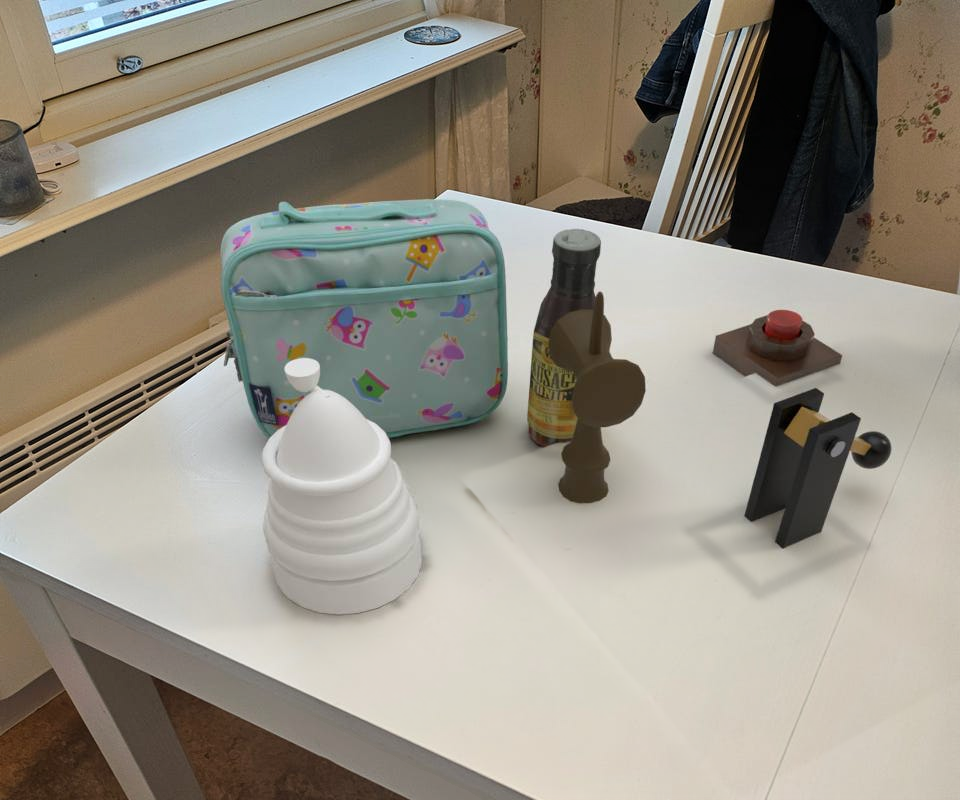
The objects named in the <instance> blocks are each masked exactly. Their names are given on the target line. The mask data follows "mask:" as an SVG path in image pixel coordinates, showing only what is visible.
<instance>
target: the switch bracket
mask: <svg viewBox="0 0 960 800" xmlns="http://www.w3.org/2000/svg"><path fill="white" fill-rule="evenodd" d="M824 396H825V392H823V391H821V390H820V389H819V388H818V387H814V388H811V389H809V390H806V391H803V392H800V393H797V394H795V395H792V396H790V397H786V398H784V399H782V400H779V401H776V402H774V403H773V405H772V408H771V409H772V410H771V414H770V417H769V421H768V425H767V429H766V433H765V436H764V440H763V444H762V448H761V451H760V455H759V459H758V461H757V462H758V463H757V466H756V470H755V474H754V478H753V481H752V486H751V489H750V493H749V496H748V500H747V504H746V507H745V512H744V517H745V518H746V519H747V520H748V521H749V522H750V523H754V522H756V521H758V520H760V519H763V518H765V517H767V516H770V515H772V514H774V513H777V512H780V511H781V510H784V511H783V514H782V517H781V520H780V524H779V526H778V527H779V528H778V531H777V534H776V538H775V541H774V543H775V544H776V545H778V546H779V547H780V548H781V549H785V548H788V547H790V546H792V545H795V544H797V543H800V542H801V541H804V540H806V539H809V538H811V537H813V536H815V535H818V534H820V533H822V531H823V528H824V525H825V522H826V519H827V516H828V514H829V511H830V508H831V506H832V503H833V500H834V496H835V494H836V491H837V489H838V485H839V482H840V480H841V477H842V474H843V471H844V469H845V466H846V463H847V460H848V457H849V454H850V452H851V451H850V449H851V446H852V443H853V440H854V437H856V435H857V432H858V429H859V426H860V424H861V421H862V417H860V416H859V415H857V414H855V413H854V412H849V413H846V414H844V415H842V416H839V417H837V418H833V419H830V421H828V422H826V423H823V424H820V425H818V426H815V427H813V428H810V429H809V432H808V436H807V439H806V442H805V445H804V447H802V446H800V445H799V444H798V443H796V442H795V441H794V440H792V439H791V438H790V437H788V436H787V435H786V434H784V432H785V431H786V429H787V428H788V426H789V425H790V423H791V422H792V420H793V419H794V417H795V416H796V414H797V413H798V411H799V410H800V408H801V407H804V408H807V409H809V410H812V411H815V412H818V413H820V409H821V406H822V403H823V399H824Z"/></svg>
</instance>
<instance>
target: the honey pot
mask: <svg viewBox="0 0 960 800" xmlns="http://www.w3.org/2000/svg"><path fill="white" fill-rule="evenodd" d="M284 370H285V374H286V377H287V379H288V381H289V382H290V384H291V385H292V386H293V387H294V388H295V389H296V390H298V391H300V392H309V391H311V393H309V394H308V395H307V396H305V397H304V398H303V399H302V400H301V401H300V402H299V404H298V405H297V406H296V408H295V409H294V411H293V413H292V415H291V417H290V419H289V421H288V423H287V425H285V426H284V427H282V428H280V429H279V430H277V431H276V432H275V433H274V434H273V435H272V436H271V437H270V438H268V440H267V441H266V443H265V445H264V447H263V449H262V454H261V465H262V468H263V470H264V473H265V475H266V476H267V477H268V478H269V481H268V488H267V501H266V508H265V510H264V515H263V524H262V526H263V527H262V531H263V534H264V538H265V543H266V547H267V551H268V555H269V559H270V563H271V566H272V572H273V574H274V578H275V581H276V584H277V587H278V588H279V590H280V591H281V592H282V593H283V595H284V596H285V597H286V598H287V599H289V600H290V601H292V602H293V603H295V604H296V605H298V606H299V607H301V608H304V609H306V610H309V611H313V612H315V613H319V614H326V615H327V614H328V615H335V616H337V615H338V616H340V615H341V616H342V615H352V614H360V613H364V612H368V611H371V610H374V609H379V608H381V607H382V606H384V605H387V604H389V603H391V602H393V601H395V600H397V599H398V598H399V597H400V596H401V595H403V594H404V593H405V592H407V591H408V590H409V589H410V588H411V586H412V585H413V584H414V582H415V580H416V579H417V578H418V577H419V574H420V571H421V567H422V564H423V557H422V555H423V554H422V543H421V532H420V530H421V529H420V521H419V519H420V518H419V509H418V504H417V501H416V499H415V496H414V495H413V494H412V491H411V489H410V488H409V487H408V485H407V483H406V481H405V479H404V477H403V473H402V471H401V469H400V467H399V465H398V463H397V462H396V461H395V460H394V459H393V458H391V456H392V443H391V440H390V438H388V437H387V435H386V433H385V432H384V431H383V430H382V429H381V428H380V427H379V426H378V425H377V424H376V423H374V422H372V421H370V420H368V419H366V418H365V417H364V416H363V415H362V414H361V412H360V411H359V410H358V409H357V408H356V407H355V406H354V405H353V404H351V403H350V402H349V401H348V400H347V399H346V398H344V397H343V396H341V395H340V394H338V393H335V392H333V391H330V390H322V389H321V388H320V387H318V386H317V383H318V381H319V377H320V365H319V363H318V362H317V361H316V360H314V359H310V358H299V359H295V360H292V361H290V362H289V363H287V364H286V366H285V368H284Z"/></svg>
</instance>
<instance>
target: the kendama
mask: <svg viewBox="0 0 960 800" xmlns="http://www.w3.org/2000/svg"><path fill="white" fill-rule="evenodd" d="M595 297H596V298H595V302H594V309H593V310H587V309H580V310H577V311H573V312H569V313H567V314H566V315H564V316H563V317H562V318H560V319H559V320H557V322H556V324H555V325H554V327H553V328H552V330H551V333H550V337H549V342H548V347H549V354H550V357H551V359H552V360H553V362H554V363H555V365H556V366H558V367H560V368H562V369H565V370H567V371H573V372H574V374H575V376H576V378H577V380H576V382H575V386H574V390H573V394H572V405H573V412H574V413H575V415H576V416H577V418H578V419H577V423H576V427H575V431H574V434H573V437H572V440H571V441H569V443H567V444H565V445H564V446H563V449H562V451H561V453H560V455H561V461H562V463H563V464H564V466H565V467H564V473H563V476H562V477H561V478H560V479H559V481H558V483H557V487H558V492H559V493H560V494H561V496H562V497H563V498H564V499H566V500H567V501H569V502H571V503H575V504H581V505H583V504H593V503H596V502H600V501H602V500H603V499H605V498H606V497H607V496H608V494H609V492H610V490H609V485H608V483H607V481H606V480H605V470H606V469H608V467H609V466H610V463H611V455H610V451H609V450H608V449H607V447H605V445H604V443H603V436H602V428H609V427H613V426H616V425H621V424H623V422H626V421H627V420H628V419H630V418H632V417H633V416H634V415H635V413H636V412H637V411H638V410H639V409H640V407H641V405H642V403H643V400H644V397H645V394H646V391H647V390H646V389H647V388H646V387H647V386H646V377H645V375H644V373H643V371H642V369H641V367H640V365H639V364H636V363H634V362H633V361H631V360H628V359H623V358H622V359H621V358H613V356H612V354H611V352H610V351H611V345H612V341H613V337H612V325H611V323H610V321H609V320H608V318H607V316H606V315H605V297H604V293H603V292H602V291H597V293H596V294H595Z"/></svg>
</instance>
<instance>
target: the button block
mask: <svg viewBox="0 0 960 800" xmlns="http://www.w3.org/2000/svg"><path fill="white" fill-rule="evenodd" d="M767 317H768V314H767V315H763V316H760V317H757V318H755V319H754V320H753V322H752V323H750V324H747V325H744V326H741V327H738V328H735V329H732V330H729V331H726V332H723V333H720V334H717V335H715V339H714V343H713V349H712V354H713V355H714V356H715V357H717V358H718V359H720V360H721V361H723V362H724V363H725V364H727V365H728V366H730V367H731V368H732V369H733V370H735V371H736V372H738V373H739V374H740V375H742V376H743V377H748V376H752V375H755V374H757V375H758V376H759V377H761V378H762V379H764V380H765V381H767V382H768V383H769V384H771V385H772V386H774V387H778V386H782V385H784V384H788V383H789V382H793V381H795V380H798V379H800V378H804V377H807V376H809V375H812V374H815V373H818V372H821V371H823V370H827V369H830V368H831V367H834V366H837V365H840V364H841V361H842V358H843V355H842V353H840V352H838V351H837V350H835V349H833V348H832V347H830V346H829V345H827V344H825V343H824V342H822V341H821V340H819V339H818V338H816V337H815V332H814V328H813V327H812V325H811V324H810V323H807V322H806V321H804V320H803V321H802V325H801V329H800V333H799V336H798V337H797V338H796V339H793V340H779V339H775V338H771V337H769V336H768V335H766V334H765V332H764V329H765V325H766V321H767Z"/></svg>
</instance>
